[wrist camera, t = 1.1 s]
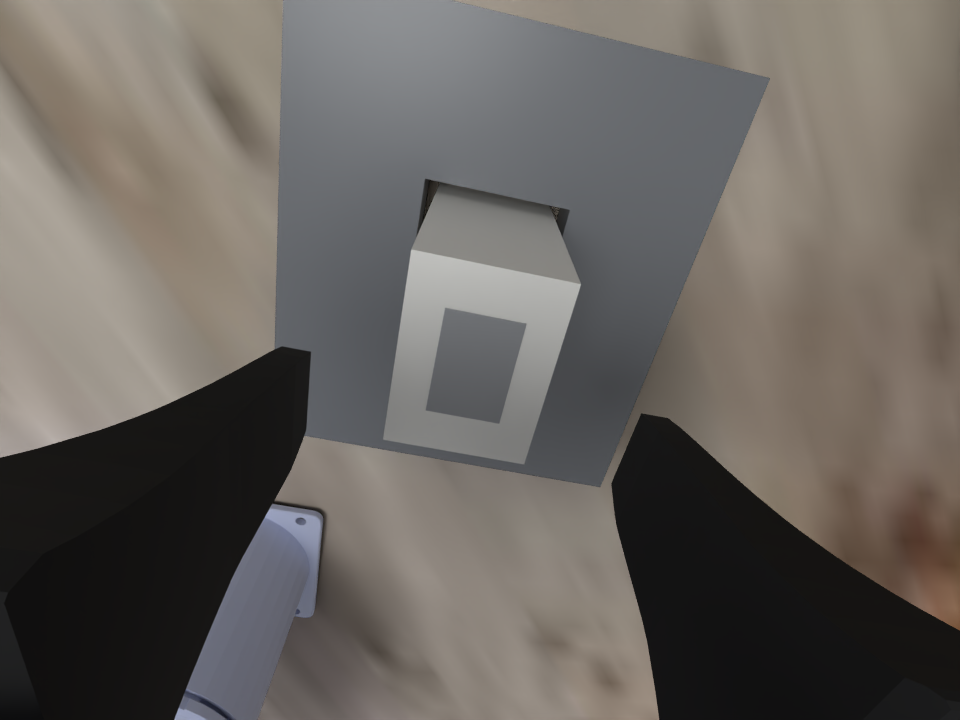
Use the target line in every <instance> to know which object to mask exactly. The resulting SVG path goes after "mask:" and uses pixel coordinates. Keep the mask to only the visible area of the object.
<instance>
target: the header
mask: <svg viewBox="0 0 960 720" xmlns="http://www.w3.org/2000/svg"><path fill="white" fill-rule="evenodd" d="M769 80H770V78H767V77H763V76H759V75H755V74H751V73H747V72H743V71H739V70H735V69H730V68H726V67H722V66H718V65H714V64H710V63H706V62H702V61H698V60H694V59H690V58H686V57H681V56H677V55H673V54H669V53H665V52H661V51H657V50H653V49H649V48H645V47H641V46H637V45H632V44H628V43H624V42H620V41H616V40H612V39H608V38H604V37H600V36H596V35H592V34H587V33H583V32H579V31H575V30H571V29H567V28H563V27H559V26H555V25H551V24H547V23H543V22H538V21H534V20H530V19H526V18H522V17H518V16H514V15H510V14H506V13H502V12H498V11H494V10H489V9H485V8H481V7H477V6H473V5H469V4H465V3H461V2H457V1H453V0H283V27H282V68H281V110H280V151H279V193H278V234H277V275H276V317H275V349H277V348H279V347H281V346H284V347H289V348H294V349H300V350H305V351H310V352H311V362H310V379H309V395H308V411H307V428H306V432H305V435H304V436H309V437H315V438H320V439H326V440H332V441H338V442H343V443H349V444H355V445H361V446H366V447H372V448H378V449H384V450H389V451H395V452H401V453H407V454H412V455H418V456H424V457H430V458H435V459H441V460H447V461H453V462H458V463H464V464H470V465H476V466H481V467H487V468H493V469H499V470H504V471H510V472H516V473H522V474H527V475H533V476H539V477H545V478H550V479H556V480H562V481H568V482H573V483H579V484H585V485H591V486H596V487H600V486H601V484H602V481H603V479H604V477H605V474H606V472H607V469H608V467H609V465H610V462H611V460H612V457H613V455H614V453H615V450H616V448H617V445H618V443H619V441H620V438H621V436H622V433H623V431H624V428H625V426H626V424H627V421H628V419H629V416H630V414H631V412H632V409H633V407H634V404H635V402H636V400H637V397H638V395H639V392H640V390H641V388H642V385H643V383H644V380H645V378H646V376H647V373H648V371H649V368H650V366H651V364H652V361H653V359H654V356H655V354H656V351H657V349H658V347H659V344H660V342H661V339H662V337H663V335H664V332H665V330H666V327H667V325H668V323H669V320H670V318H671V315H672V313H673V311H674V308H675V306H676V303H677V301H678V299H679V296H680V294H681V291H682V289H683V287H684V284H685V282H686V279H687V277H688V275H689V272H690V270H691V267H692V265H693V262H694V260H695V258H696V255H697V253H698V250H699V248H700V246H701V243H702V241H703V238H704V236H705V234H706V231H707V229H708V226H709V224H710V222H711V219H712V217H713V214H714V212H715V210H716V207H717V205H718V202H719V200H720V198H721V195H722V193H723V190H724V188H725V186H726V183H727V181H728V178H729V176H730V173H731V171H732V169H733V166H734V164H735V161H736V159H737V157H738V154H739V152H740V149H741V147H742V145H743V142H744V140H745V137H746V135H747V133H748V130H749V128H750V125H751V123H752V121H753V118H754V116H755V113H756V111H757V109H758V106H759V104H760V101H761V99H762V97H763V94H764V92H765V89H766V87H767V84H768V82H769ZM429 180H434V181H439V182H443V183H448V184H452V185H457V186H462V187H466V188H471V189H475V190H480V191H485V192H489V193H494V194H499V195H503V196H508V197H512V198H517V199H522V200H526V201H531V202H535V203H540V204H545V205H549V206H554V207H559V208H560V210H559V213H558V217H557V220H556V223H557V226H558V228H559V231H560V233H561V236H562V238H563V240H564V243H565V245H566V248H567V250H568V253H569V255H570V258H571V260H572V263H573V265H574V268H575V270H576V273H577V275H578V278H579V280H580V283H581V286H580V289H579V293H578V296H577V299H576V302H575V305H574V308H573V312H572V315H571V318H570V321H569V324H568V327H567V331H566V334H565V337H564V340H563V343H562V346H561V350H560V353H559V356H558V359H557V362H556V365H555V368H554V372H553V375H552V378H551V381H550V384H549V387H548V391H547V394H546V397H545V400H544V403H543V406H542V410H541V413H540V416H539V419H538V422H537V425H536V429H535V432H534V435H533V438H532V441H531V444H530V447H529V451H528V454H527V457H526V460H525V463H524V464H518V463H513V462H507V461H501V460H496V459H490V458H484V457H479V456H473V455H467V454H462V453H456V452H450V451H444V450H439V449H433V448H427V447H422V446H416V445H410V444H405V443H399V442H393V441H388V440H383V436H384V429H385V423H386V416H387V409H388V402H389V396H390V389H391V382H392V376H393V369H394V362H395V355H396V349H397V342H398V335H399V329H400V322H401V315H402V308H403V302H404V295H405V288H406V281H407V275H408V268H409V261H410V255H411V249H412V247H413V244H414V242H415V240H416V237H417V235H418V233H419V230H420V228H421V226H422V223H423V217H424V211H425V204H426V198H427V192H428V185H429Z"/></svg>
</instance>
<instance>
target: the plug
mask: <svg viewBox="0 0 960 720" xmlns="http://www.w3.org/2000/svg"><path fill="white" fill-rule="evenodd" d="M580 286H581V283H580V280H579V278H578V275H577V273H576V270H575V268H574V265H573V263H572V260H571V258H570V255H569V253H568V250H567V248H566V245H565V243H564V240H563V238H562V236H561V233H560V231H559V228H558V226H557V223H556V221H555V218H554V216H553V213H552V211H551V208H550V206H549V205H545V204H540V203H535V202H531V201H526V200H522V199H517V198H512V197H508V196H503V195H499V194H494V193H489V192H485V191H480V190H475V189H471V188H466V187H462V186H457V185H452V184H448V183H443V182H440V184H439V186H438V189H437V191H436V193H435V196H434V198H433V200H432V203H431V205H430V207H429V210H428V212H427V214H426V216H425V219H424V221H423V223H422V226H421V228H420V230H419V233H418V235H417V237H416V240H415V242H414V244H413V247H412V249H411V255H410V261H409V268H408V275H407V281H406V288H405V295H404V302H403V308H402V315H401V322H400V329H399V335H398V342H397V349H396V355H395V362H394V369H393V376H392V382H391V389H390V396H389V402H388V409H387V416H386V423H385V429H384V436H383V440H388V441H393V442H399V443H405V444H410V445H416V446H422V447H427V448H433V449H439V450H444V451H450V452H456V453H462V454H467V455H473V456H479V457H484V458H490V459H496V460H501V461H507V462H513V463H518V464H524V463H525V460H526V457H527V454H528V451H529V447H530V444H531V441H532V438H533V435H534V432H535V429H536V425H537V422H538V419H539V416H540V413H541V410H542V406H543V403H544V400H545V397H546V394H547V391H548V387H549V384H550V381H551V378H552V375H553V372H554V368H555V365H556V362H557V359H558V356H559V353H560V350H561V346H562V343H563V340H564V337H565V334H566V331H567V327H568V324H569V321H570V318H571V315H572V312H573V308H574V305H575V302H576V299H577V296H578V293H579V289H580Z"/></svg>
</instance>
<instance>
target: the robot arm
mask: <svg viewBox="0 0 960 720" xmlns="http://www.w3.org/2000/svg"><path fill="white" fill-rule="evenodd" d="M310 362H311V352H310V351H305V350H300V349H294V348H289V347H284V346H281V347H279V348H277V349H275V350H273V351H271V352H269V353H267V354H265V355H264V356H262V357H260V358H258V359H256V360H255V361H253V362H251V363H249V364H247V365H245V366H244V367H242V368H240V369H238V370H236V371H234V372H232V373H231V374H229V375H227V376H225V377H223V378H221V379H219V380H217V381H215V382H214V383H212V384H210V385H208V386H205V387H203V388H201V389H199V390H197V391H195V392H193V393H190V394H188V395H186V396H184V397H182V398H180V399H178V400H176V401H173V402H171V403H169V404H167V405H165V406H162V407H160V408H158V409H155V410H153V411H150V412H148V413H145V414H143V415H140V416H138V417H135V418H132V419H130V420H127V421H124V422H121V423H119V424H116V425H113V426H110V427H108V428H105V429H102V430H99V431H95V432H92V433H89V434H85V435H82V436H79V437H75V438H72V439H68V440H65V441H62V442H58V443H55V444H52V445H48V446H45V447H42V448H38V449H34V450H30V451H26V452H22V453H18V454H14V455H10V456H6V457H2V458H0V720H258V717H259V714H260V711H261V708H262V706H263V703H264V700H265V697H266V694H267V692H268V689H269V686H270V683H271V680H272V677H273V675H274V672H275V669H276V666H277V663H278V661H279V658H280V655H281V652H282V649H283V647H284V644H285V641H286V638H287V635H288V633H289V630H290V627H291V624H292V621H293V619H294V616H295V617H302V618H308V617H311V616H312V615H313V614H314V611H315V605H316V594H317V583H318V571H319V560H320V549H321V538H322V527H323V516H322V515H321V514H320V513H319V512H317V511H313V510H307V509H301V508H295V507H289V506H283V505H276V504H273V502H274V500H275V498H276V496H277V495H278V493H279V491H280V489H281V487H282V485H283V484H284V482H285V480H286V478H287V476H288V474H289V472H290V471H291V468H292V466H293V463H294V461H295V458H296V456H297V453H298V451H299V448H300V446H301V443H302V440H303V438H304V435H305V432H306V428H307V411H308V395H309V379H310ZM611 484H612V493H613V503H614V511H615V518H616V525H617V529H618V533H619V537H620V540H621V544H622V548H623V552H624V555H625V559H626V563H627V566H628V570H629V574H630V577H631V581H632V584H633V588H634V592H635V595H636V599H637V602H638V606H639V610H640V613H641V617H642V621H643V625H644V629H645V634H646V638H647V643H648V649H649V655H650V661H651V667H652V673H653V679H654V685H655V691H656V698H657V705H658V713H659V720H960V631H959V630H957V629H956V628H954V627H952V626H950V625H948V624H946V623H945V622H943V621H941V620H939V619H937V618H936V617H934V616H932V615H930V614H928V613H926V612H925V611H923V610H921V609H919V608H918V607H916V606H914V605H912V604H911V603H909V602H907V601H906V600H904V599H902V598H900V597H899V596H897V595H895V594H894V593H892V592H890V591H889V590H887V589H885V588H884V587H882V586H881V585H879V584H877V583H876V582H874V581H873V580H871V579H870V578H868V577H866V576H865V575H863V574H862V573H860V572H858V571H857V570H855V569H854V568H852V567H851V566H849V565H848V564H846V563H845V562H843V561H842V560H840V559H839V558H837V557H836V556H834V555H833V554H831V553H830V552H828V551H827V550H826V549H824V548H823V547H822V546H820V545H819V544H817V543H816V542H815V541H813V540H812V539H810V538H809V537H808V536H806V535H805V534H804V533H802V532H801V531H799V530H798V529H797V528H795V527H794V526H793V525H792V524H790V523H789V522H788V521H786V520H785V519H784V518H783V517H781V516H780V515H779V514H778V513H776V512H775V511H774V510H773V509H772V508H770V507H769V506H768V505H767V504H765V503H764V502H763V501H762V500H761V499H759V498H758V497H757V496H756V495H755V494H753V493H752V492H751V491H750V490H749V489H748V488H747V487H745V486H744V485H743V484H742V483H741V482H740V481H739V480H737V479H736V478H735V477H734V476H733V475H732V474H731V473H730V472H729V471H727V470H726V469H725V468H724V467H723V466H722V465H721V464H720V463H719V462H718V461H716V460H715V459H714V458H713V457H712V456H711V455H710V454H709V453H708V452H707V451H706V450H704V449H703V448H702V447H701V446H700V445H699V444H698V443H697V442H696V441H695V440H694V439H692V438H691V437H690V436H689V435H688V434H687V433H686V432H684V431H683V430H682V429H681V428H680V427H679V426H677V425H676V424H675V423H674V422H672V421H671V420H670V419H668V418H663V417H658V416H653V415H647V414H642V413H641V416H640V418H639V420H638V423H637V425H636V427H635V430H634V432H633V434H632V437H631V439H630V441H629V444H628V446H627V448H626V451H625V453H624V455H623V458H622V460H621V462H620V465H619V467H618V469H617V472H616V474H615V476H614V479H613V481H612V483H611ZM301 518H304V519H301Z"/></svg>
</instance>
